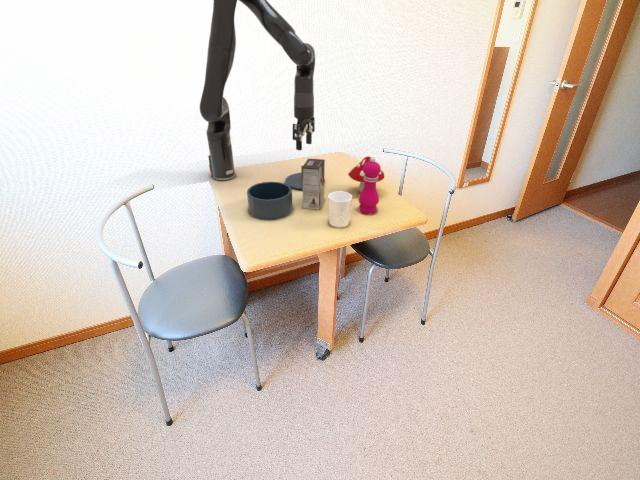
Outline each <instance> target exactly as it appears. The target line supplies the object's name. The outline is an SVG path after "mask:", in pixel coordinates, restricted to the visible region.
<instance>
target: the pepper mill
mask: <svg viewBox="0 0 640 480" xmlns="http://www.w3.org/2000/svg"><path fill="white" fill-rule="evenodd" d="M381 170H382V167H381V165H380V164H379V162H377V161H376V158H375V157H373V156H372V157H371V158H370V161H369V162H367V163H365V164H364V166H363V172H364V174H365V175H364V180H365V184H364V188H363V190H362V192H359V196H358V203H359V206H358V207H359V208H358V211H359V212H360V213H362V214H364V215H373V214H376V213H377V209H378V206H377V205H378V204H379V202H380V195H379V192H378V190H377V183H378V182H377V181H378V174H379V173H380V171H381Z"/></svg>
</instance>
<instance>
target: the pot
mask: <svg viewBox="0 0 640 480" xmlns="http://www.w3.org/2000/svg"><path fill="white" fill-rule="evenodd" d="M246 197H247V207H248V212H249V214H250V215H251V217H253V218H256V219H258V220H262V221H263V220H264V221H274V220H280V219H283V218H286V217H287V216H289V215H290V214H291V213H292V212H293V188H292V187H290V186H289V185H287V184H286V183H285V182H281V181H280V182H279V181H262V182H257V183H255V184H253V185H251V186H250V187H248V188H247V191H246Z"/></svg>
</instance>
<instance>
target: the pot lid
mask: <svg viewBox="0 0 640 480" xmlns="http://www.w3.org/2000/svg"><path fill="white" fill-rule="evenodd" d="M303 165H304V164H303ZM303 165H301V166H300V168H301V169H300V171H301V172H296V173H295V172H294V173H292V174H289V175H288V176H287V177H285V180H284V184H287V185H289V186H290V187H291V189H296V190H303V180H302V167H303ZM325 182H326V179H325V178H324V184H325Z"/></svg>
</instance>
